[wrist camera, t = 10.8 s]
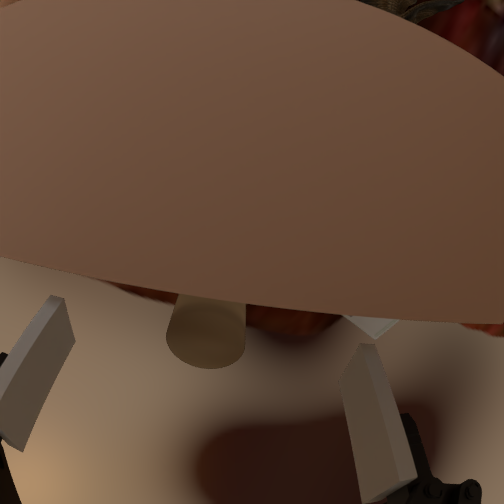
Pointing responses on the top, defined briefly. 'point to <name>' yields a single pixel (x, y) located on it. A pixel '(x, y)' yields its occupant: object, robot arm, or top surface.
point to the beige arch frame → (254, 154)
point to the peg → (207, 331)
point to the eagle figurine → (397, 3)
